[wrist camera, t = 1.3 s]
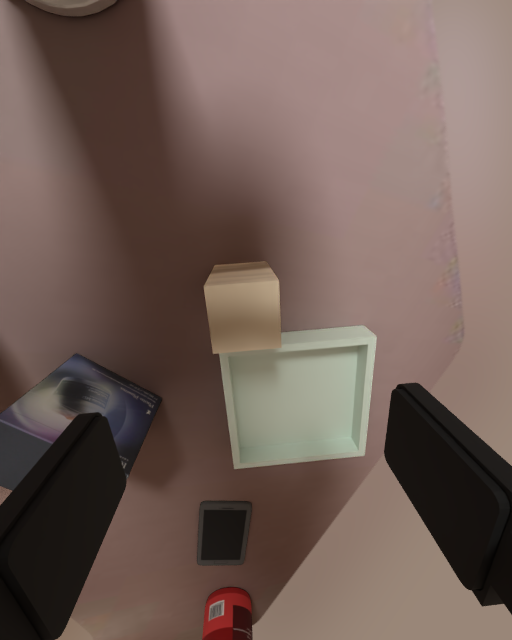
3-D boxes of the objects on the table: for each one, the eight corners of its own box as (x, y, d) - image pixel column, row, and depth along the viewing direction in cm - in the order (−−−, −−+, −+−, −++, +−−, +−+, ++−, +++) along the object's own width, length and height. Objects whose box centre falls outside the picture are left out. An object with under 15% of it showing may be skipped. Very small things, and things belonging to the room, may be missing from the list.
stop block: (214, 265, 26) (203, 286, 18) (265, 261, 26) (279, 280, 18) (220, 313, 28) (213, 353, 19) (268, 309, 28) (281, 347, 20)
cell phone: (197, 560, 42) (196, 566, 41) (200, 498, 37) (199, 503, 37) (243, 560, 43) (243, 565, 42) (252, 498, 38) (252, 504, 37)
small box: (166, 395, 31) (132, 477, 21) (138, 433, 32) (96, 525, 23) (76, 349, 28) (-10, 417, 18) (51, 392, 30) (-40, 476, 20)
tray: (220, 337, 29) (218, 350, 26) (363, 325, 29) (376, 336, 26) (234, 448, 34) (234, 469, 31) (354, 436, 35) (364, 455, 32)
